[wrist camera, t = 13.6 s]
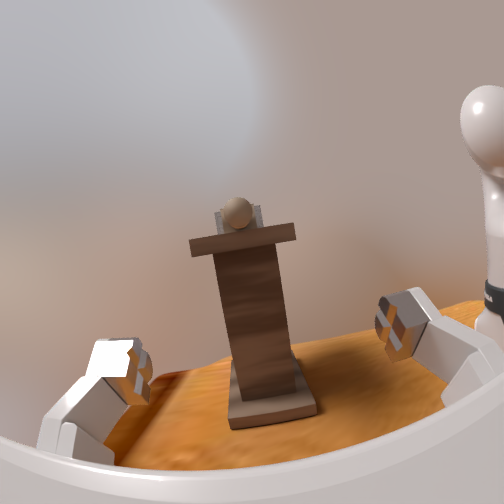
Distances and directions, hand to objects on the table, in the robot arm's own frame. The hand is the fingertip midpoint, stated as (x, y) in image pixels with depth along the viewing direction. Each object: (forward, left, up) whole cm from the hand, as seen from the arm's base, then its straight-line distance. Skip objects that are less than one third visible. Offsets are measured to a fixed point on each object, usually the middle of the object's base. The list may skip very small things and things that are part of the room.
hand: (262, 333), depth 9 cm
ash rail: (-17, -23, +4) cm, 29 cm away
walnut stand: (-21, -26, -22) cm, 40 cm away
